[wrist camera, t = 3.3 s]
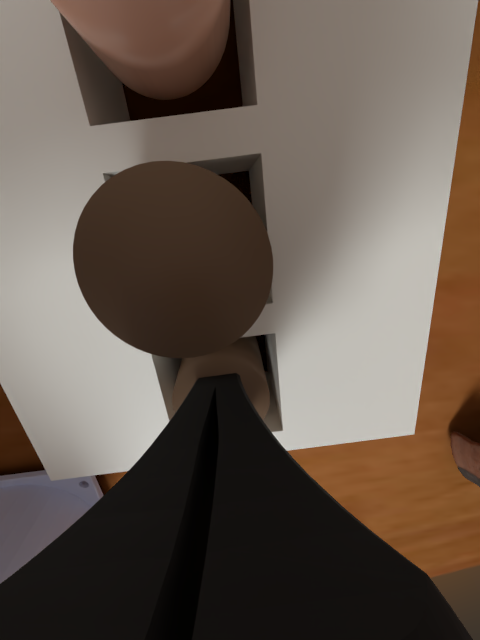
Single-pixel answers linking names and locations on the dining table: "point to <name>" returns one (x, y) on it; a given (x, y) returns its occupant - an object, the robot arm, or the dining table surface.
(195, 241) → the walnut plug
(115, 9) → the terracotta plug
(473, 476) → the brown strap loop
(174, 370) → the socket board
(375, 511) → the dining table surface
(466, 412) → the dining table surface
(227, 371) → the walnut plug
